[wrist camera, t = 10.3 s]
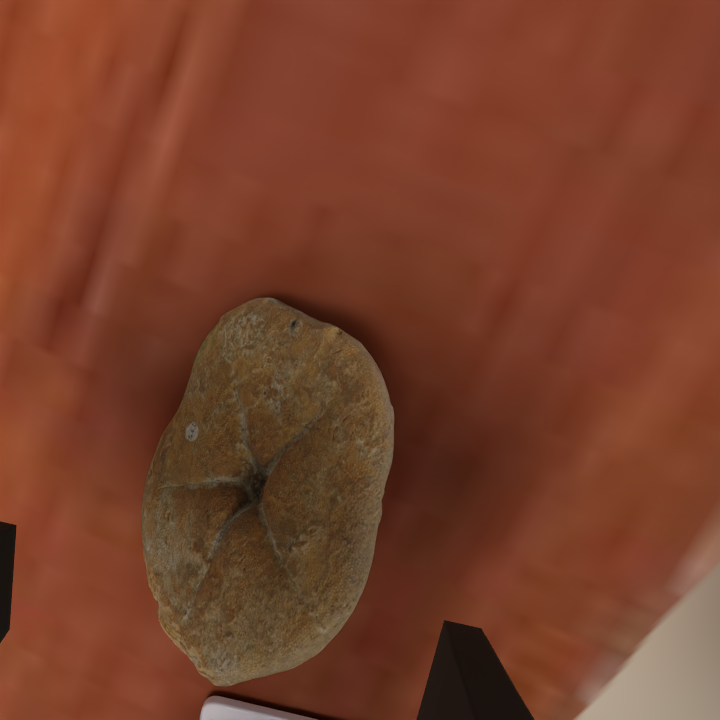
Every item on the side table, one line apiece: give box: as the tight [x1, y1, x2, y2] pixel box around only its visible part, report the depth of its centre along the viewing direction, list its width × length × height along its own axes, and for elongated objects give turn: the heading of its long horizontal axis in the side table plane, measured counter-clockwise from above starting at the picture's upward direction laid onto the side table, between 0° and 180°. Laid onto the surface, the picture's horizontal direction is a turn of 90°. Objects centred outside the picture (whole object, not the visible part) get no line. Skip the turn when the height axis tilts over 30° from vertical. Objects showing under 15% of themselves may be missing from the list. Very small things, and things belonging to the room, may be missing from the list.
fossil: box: [141, 298, 394, 687], centre depth 19 cm, size 9×4×10 cm
